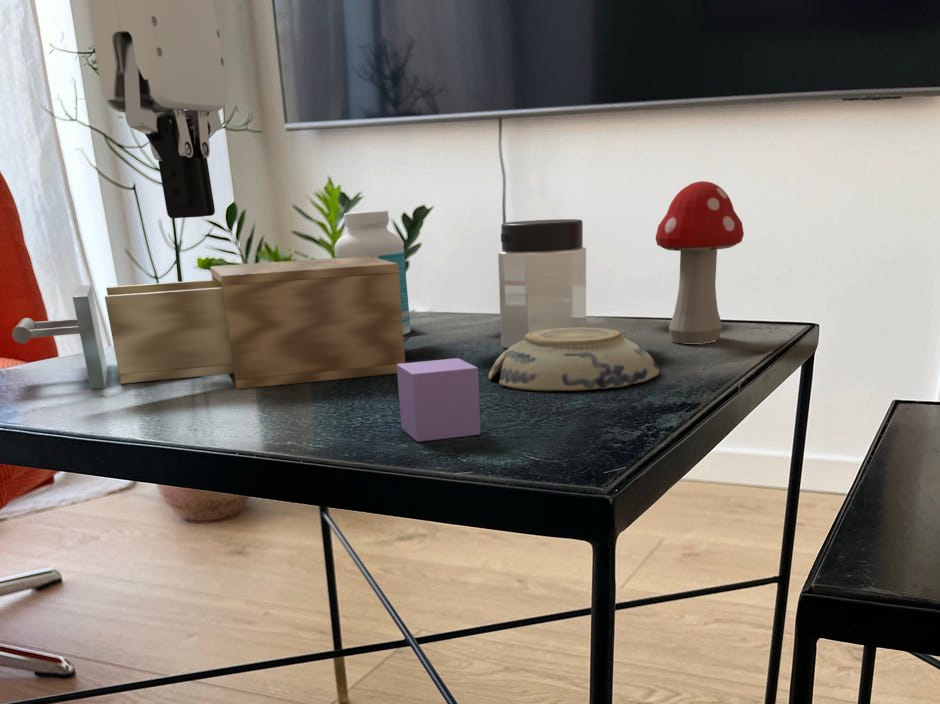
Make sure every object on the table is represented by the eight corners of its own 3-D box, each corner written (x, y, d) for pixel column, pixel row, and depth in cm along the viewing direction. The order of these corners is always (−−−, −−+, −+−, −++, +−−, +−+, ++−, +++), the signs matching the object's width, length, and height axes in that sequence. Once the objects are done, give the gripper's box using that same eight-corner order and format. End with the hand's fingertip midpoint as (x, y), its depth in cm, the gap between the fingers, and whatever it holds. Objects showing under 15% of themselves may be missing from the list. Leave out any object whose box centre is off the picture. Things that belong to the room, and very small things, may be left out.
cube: (417, 442, 69) (412, 374, 68) (401, 428, 73) (396, 363, 72) (481, 434, 71) (478, 367, 69) (461, 421, 75) (458, 357, 73)
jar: (523, 338, 111) (520, 220, 106) (594, 340, 108) (594, 218, 103) (490, 351, 104) (485, 225, 99) (565, 353, 100) (564, 223, 96)
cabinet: (236, 389, 91) (220, 275, 87) (224, 368, 101) (210, 266, 98) (406, 372, 95) (398, 263, 91) (376, 353, 106) (368, 255, 102)
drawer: (23, 398, 86) (1, 302, 83) (33, 376, 96) (14, 290, 93) (260, 375, 91) (248, 284, 88) (247, 357, 101) (236, 275, 98)
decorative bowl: (695, 374, 88) (581, 354, 99) (697, 330, 86) (581, 315, 98) (562, 403, 80) (455, 377, 91) (562, 355, 79) (453, 335, 90)
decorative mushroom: (661, 332, 110) (665, 182, 104) (742, 333, 108) (751, 178, 102) (644, 347, 102) (648, 184, 96) (732, 348, 99) (742, 180, 93)
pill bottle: (401, 336, 117) (392, 209, 111) (418, 344, 110) (409, 209, 105) (337, 342, 115) (325, 212, 109) (351, 351, 108) (338, 213, 102)
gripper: (159, -47, 77) (201, 214, 85) (25, -87, 64) (89, 225, 72) (247, -60, 75) (281, 209, 83) (126, -104, 62) (180, 220, 70)
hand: (191, 216), depth 77 cm, fingers closed
